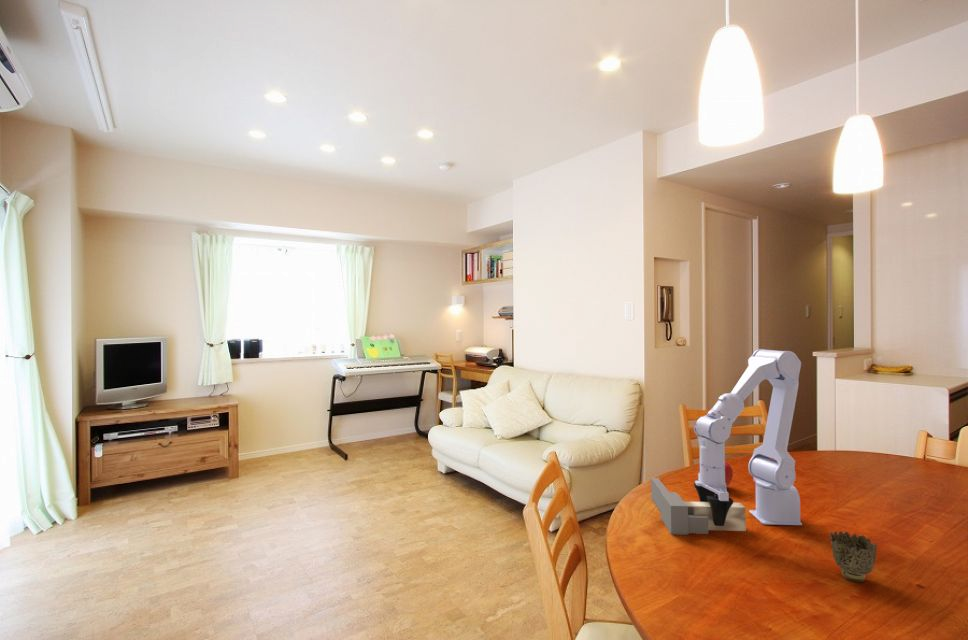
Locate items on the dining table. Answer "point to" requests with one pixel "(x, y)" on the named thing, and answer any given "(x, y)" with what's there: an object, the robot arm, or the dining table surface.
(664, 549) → the dining table surface
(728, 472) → the apple
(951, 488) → the dining table surface
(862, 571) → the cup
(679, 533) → the grey stepped block
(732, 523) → the birch rail
